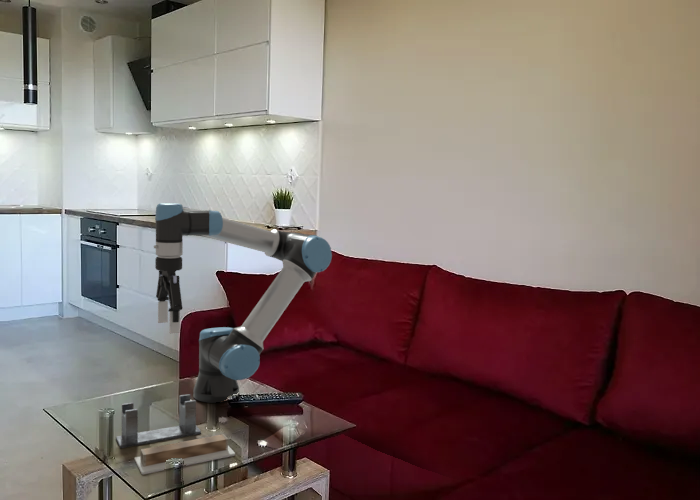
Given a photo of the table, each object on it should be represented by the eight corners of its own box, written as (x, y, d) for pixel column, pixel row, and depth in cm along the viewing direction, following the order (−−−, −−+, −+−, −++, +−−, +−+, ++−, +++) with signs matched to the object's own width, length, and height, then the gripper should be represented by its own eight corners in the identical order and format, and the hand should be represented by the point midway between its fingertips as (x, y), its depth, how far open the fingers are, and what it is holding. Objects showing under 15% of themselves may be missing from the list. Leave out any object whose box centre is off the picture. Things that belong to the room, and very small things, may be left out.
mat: (223, 442, 170) (223, 440, 170) (235, 455, 162) (235, 453, 162) (134, 459, 157) (134, 457, 157) (142, 474, 150) (142, 472, 150)
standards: (194, 425, 180) (194, 393, 179) (200, 433, 175) (201, 400, 174) (116, 439, 169) (115, 404, 168) (120, 448, 163) (120, 412, 162)
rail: (223, 444, 167) (223, 433, 166) (227, 449, 164) (228, 438, 163) (140, 460, 156) (140, 449, 155) (143, 466, 152) (143, 454, 152)
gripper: (146, 251, 186) (146, 319, 188) (166, 262, 165) (166, 338, 167) (170, 250, 190) (170, 317, 192) (194, 261, 169) (193, 336, 171)
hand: (168, 327), depth 180 cm, fingers open, 13 cm apart
